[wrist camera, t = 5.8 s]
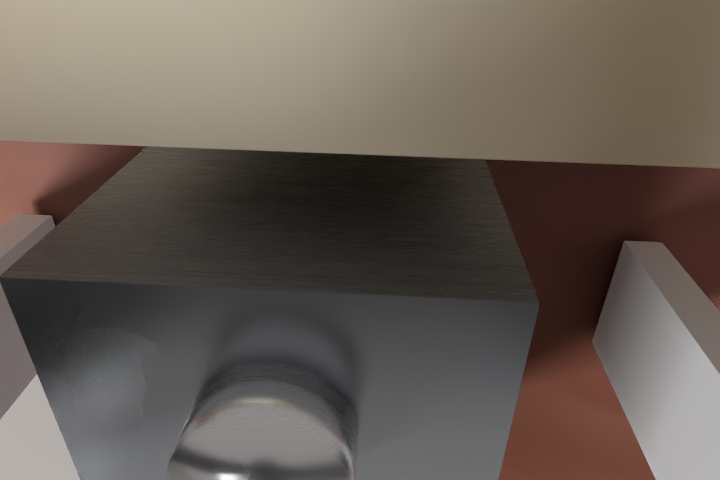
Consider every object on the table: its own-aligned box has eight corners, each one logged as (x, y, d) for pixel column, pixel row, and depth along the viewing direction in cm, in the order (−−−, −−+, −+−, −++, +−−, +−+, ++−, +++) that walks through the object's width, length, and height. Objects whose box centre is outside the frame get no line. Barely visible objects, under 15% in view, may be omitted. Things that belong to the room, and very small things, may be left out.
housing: (242, 394, 14) (135, 723, 8) (201, 98, 10) (-68, 333, 4) (429, 406, 14) (453, 750, 8) (464, 106, 10) (565, 367, 4)
